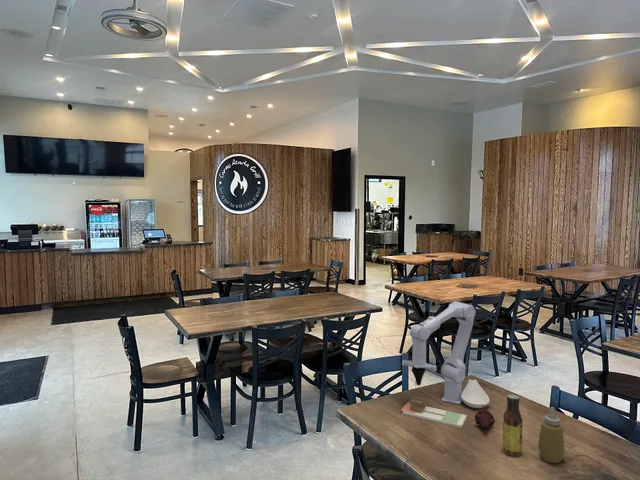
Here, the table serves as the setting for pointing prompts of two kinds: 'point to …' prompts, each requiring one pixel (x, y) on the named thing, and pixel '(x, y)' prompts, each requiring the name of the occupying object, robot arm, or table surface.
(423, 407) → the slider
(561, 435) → the squeeze bottle
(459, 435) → the table surface
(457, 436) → the table surface
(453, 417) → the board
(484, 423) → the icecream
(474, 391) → the spoon rest
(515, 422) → the sauce bottle
